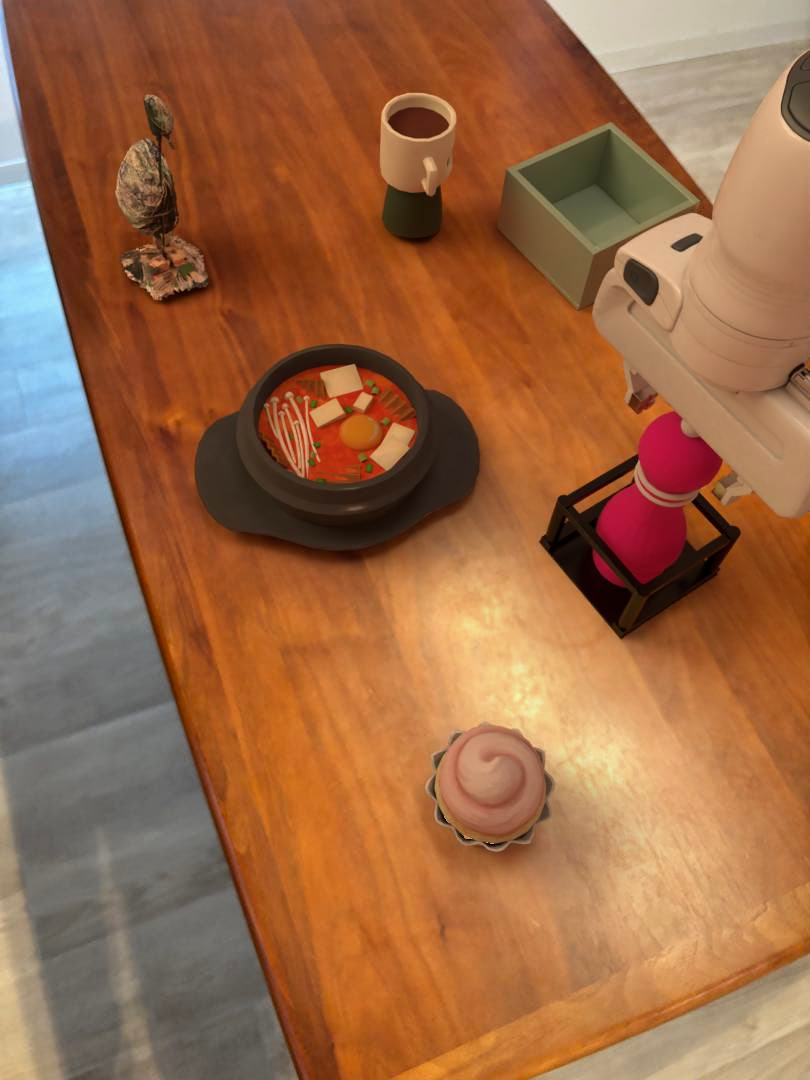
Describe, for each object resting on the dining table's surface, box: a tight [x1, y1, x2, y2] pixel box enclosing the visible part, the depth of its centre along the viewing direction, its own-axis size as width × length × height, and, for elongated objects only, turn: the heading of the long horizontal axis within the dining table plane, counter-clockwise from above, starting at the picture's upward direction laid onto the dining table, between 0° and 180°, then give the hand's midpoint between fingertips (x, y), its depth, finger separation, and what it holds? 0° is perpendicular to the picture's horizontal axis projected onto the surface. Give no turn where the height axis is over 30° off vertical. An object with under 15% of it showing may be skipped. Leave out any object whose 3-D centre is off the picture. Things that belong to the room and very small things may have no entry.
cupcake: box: [424, 720, 556, 852], centre depth 71 cm, size 9×9×10 cm
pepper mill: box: [593, 410, 724, 588], centre depth 78 cm, size 7×7×20 cm
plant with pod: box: [114, 94, 211, 301], centre depth 92 cm, size 8×11×20 cm
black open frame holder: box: [538, 453, 742, 640], centre depth 84 cm, size 11×11×8 cm
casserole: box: [194, 343, 481, 552], centre depth 86 cm, size 25×19×8 cm
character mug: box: [379, 92, 457, 239], centre depth 100 cm, size 11×7×13 cm, turn 16°
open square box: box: [496, 121, 701, 311], centre depth 102 cm, size 14×14×8 cm
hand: (680, 449), depth 72 cm, fingers open, 8 cm apart
